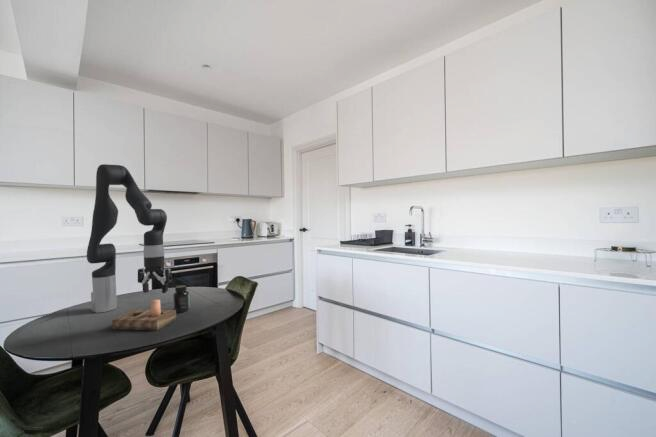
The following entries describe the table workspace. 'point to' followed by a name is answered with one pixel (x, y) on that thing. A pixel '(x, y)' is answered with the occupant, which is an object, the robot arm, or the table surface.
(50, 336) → the table surface
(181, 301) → the supplement bottle
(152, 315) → the orange tall block
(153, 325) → the wooden block with holes
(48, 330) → the table surface
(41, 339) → the table surface
